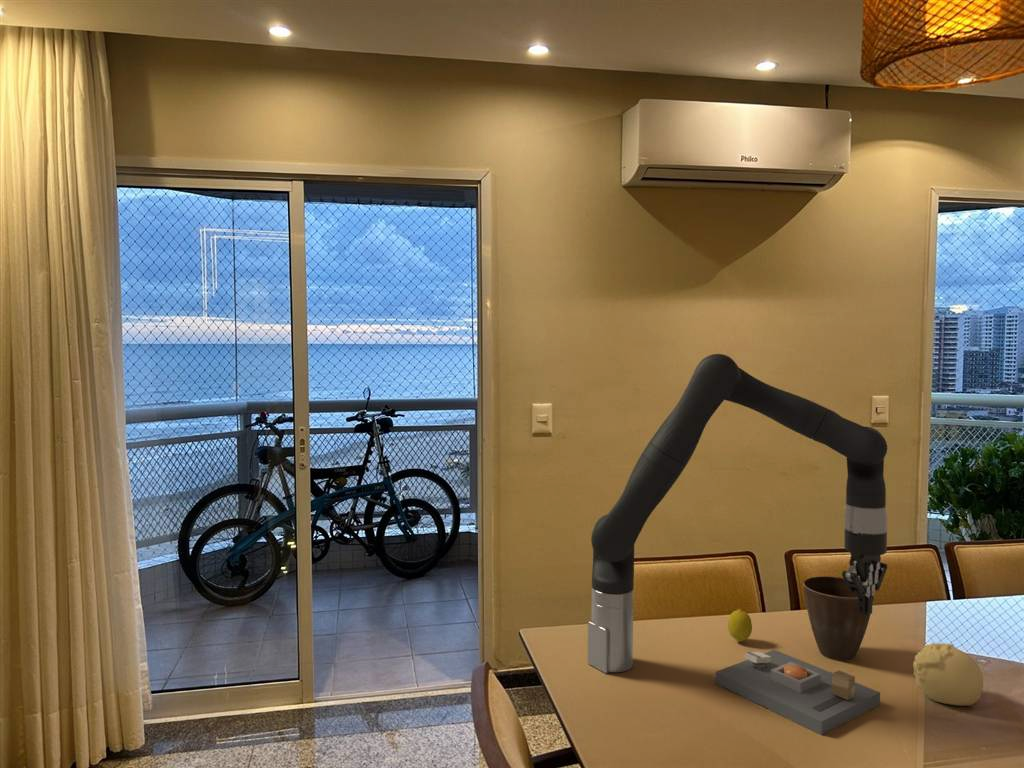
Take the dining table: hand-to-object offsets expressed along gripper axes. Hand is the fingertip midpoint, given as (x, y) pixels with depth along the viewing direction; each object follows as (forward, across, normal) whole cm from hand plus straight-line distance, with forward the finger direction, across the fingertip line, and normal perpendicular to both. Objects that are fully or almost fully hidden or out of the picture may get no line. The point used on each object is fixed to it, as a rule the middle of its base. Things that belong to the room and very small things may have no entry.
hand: (864, 613), depth 138 cm
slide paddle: (+15, +7, 0) cm, 16 cm away
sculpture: (+18, -15, +9) cm, 25 cm away
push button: (+14, +9, -9) cm, 19 cm away
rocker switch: (+13, +9, -18) cm, 24 cm away
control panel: (+17, +9, -9) cm, 22 cm away
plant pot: (+18, -16, -15) cm, 28 cm away
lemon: (+18, -3, -32) cm, 37 cm away
